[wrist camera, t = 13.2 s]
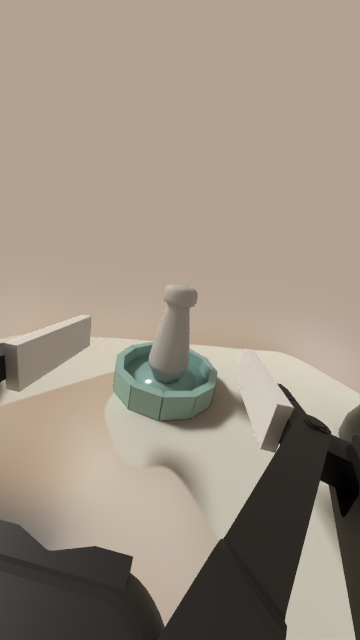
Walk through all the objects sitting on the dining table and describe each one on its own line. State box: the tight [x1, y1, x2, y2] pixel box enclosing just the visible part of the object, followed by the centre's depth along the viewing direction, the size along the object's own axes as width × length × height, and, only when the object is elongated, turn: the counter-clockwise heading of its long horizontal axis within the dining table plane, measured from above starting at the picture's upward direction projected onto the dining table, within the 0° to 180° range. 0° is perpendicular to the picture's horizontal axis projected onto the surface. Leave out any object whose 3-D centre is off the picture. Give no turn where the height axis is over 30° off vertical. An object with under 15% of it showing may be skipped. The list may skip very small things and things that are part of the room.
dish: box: [113, 342, 217, 421], centre depth 27 cm, size 14×14×3 cm
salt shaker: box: [149, 284, 197, 384], centre depth 25 cm, size 6×6×13 cm
